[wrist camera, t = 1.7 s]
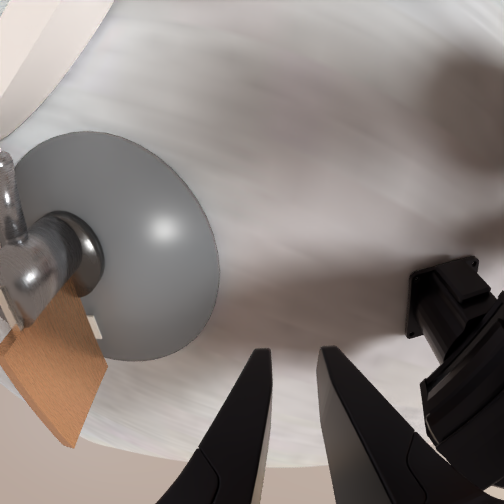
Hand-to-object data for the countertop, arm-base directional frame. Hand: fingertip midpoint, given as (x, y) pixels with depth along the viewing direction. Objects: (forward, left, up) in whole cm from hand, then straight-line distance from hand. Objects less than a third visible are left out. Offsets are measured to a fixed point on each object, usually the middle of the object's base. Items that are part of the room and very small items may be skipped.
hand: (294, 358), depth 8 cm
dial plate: (-1, +14, -12) cm, 18 cm away
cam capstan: (-1, +15, -11) cm, 19 cm away
